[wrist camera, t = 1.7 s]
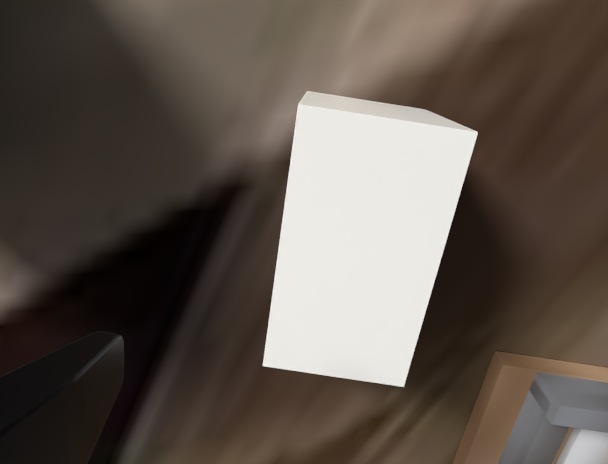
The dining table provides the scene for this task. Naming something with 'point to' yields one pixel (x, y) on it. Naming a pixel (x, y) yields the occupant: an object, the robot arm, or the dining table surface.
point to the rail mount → (538, 414)
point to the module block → (362, 235)
